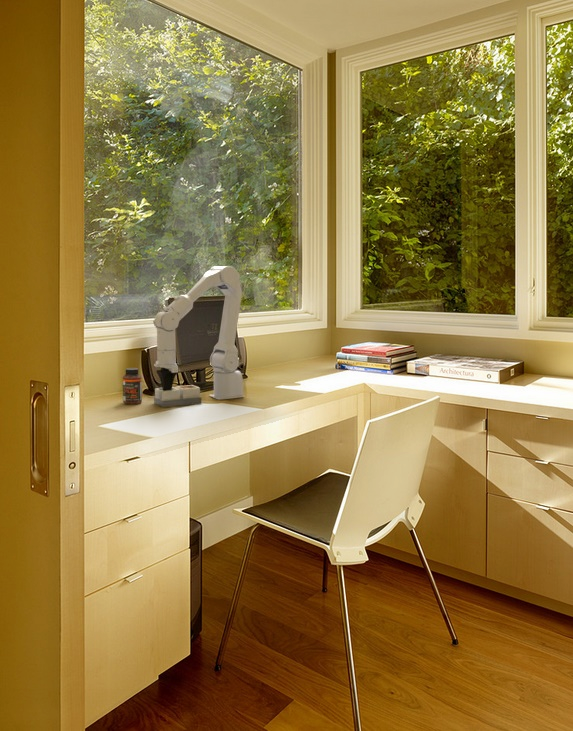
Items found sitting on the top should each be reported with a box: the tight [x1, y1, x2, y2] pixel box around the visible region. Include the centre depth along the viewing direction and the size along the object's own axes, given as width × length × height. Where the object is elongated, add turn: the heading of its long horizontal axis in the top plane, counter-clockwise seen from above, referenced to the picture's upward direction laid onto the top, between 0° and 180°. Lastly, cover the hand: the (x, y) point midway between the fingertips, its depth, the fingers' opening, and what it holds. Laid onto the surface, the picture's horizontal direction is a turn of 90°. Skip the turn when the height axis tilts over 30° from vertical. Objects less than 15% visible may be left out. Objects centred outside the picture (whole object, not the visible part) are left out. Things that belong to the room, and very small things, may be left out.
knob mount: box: [153, 384, 202, 408], centre depth 201 cm, size 13×8×5 cm, turn 122°
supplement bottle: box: [122, 367, 143, 405], centre depth 200 cm, size 6×6×11 cm
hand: (167, 392), depth 199 cm, fingers closed, pressing on cream knob
